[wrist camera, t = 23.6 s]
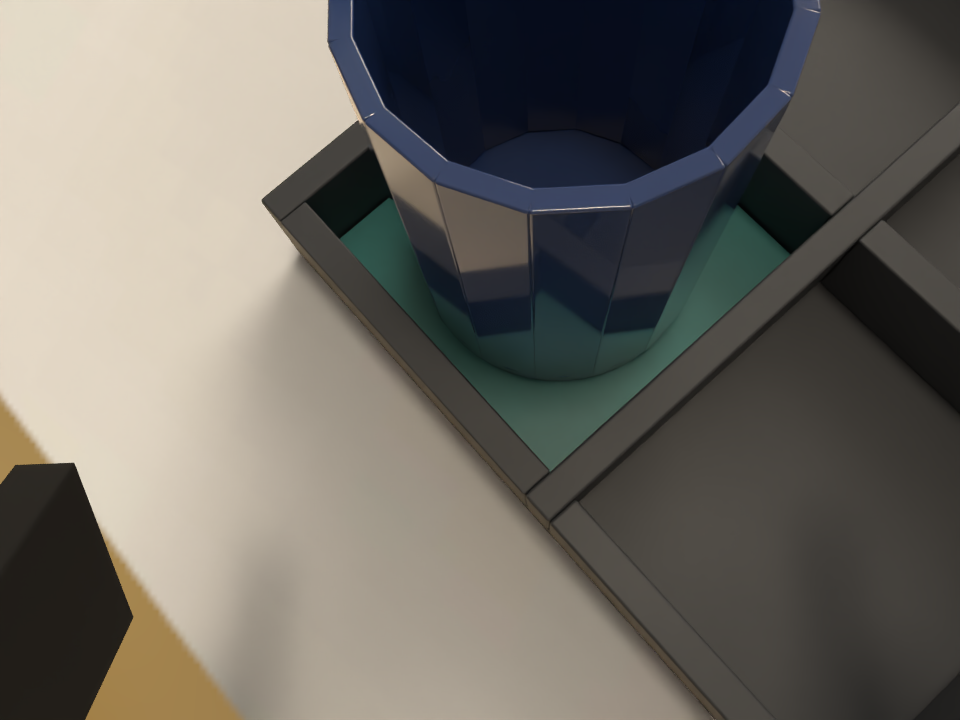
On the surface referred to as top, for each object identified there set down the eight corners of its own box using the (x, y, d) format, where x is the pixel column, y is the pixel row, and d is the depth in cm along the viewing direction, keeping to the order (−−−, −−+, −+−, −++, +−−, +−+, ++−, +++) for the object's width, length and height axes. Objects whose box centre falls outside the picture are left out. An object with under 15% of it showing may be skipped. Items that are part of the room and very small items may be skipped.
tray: (298, 251, 25) (259, 199, 22) (799, -166, 27) (837, -275, 24) (827, 845, 21) (884, 899, 17) (1376, 289, 23) (1526, 237, 19)
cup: (424, 387, 23) (323, 223, 12) (422, 135, 25) (330, -197, 14) (704, 376, 23) (848, 197, 12) (682, 120, 24) (790, -234, 14)
